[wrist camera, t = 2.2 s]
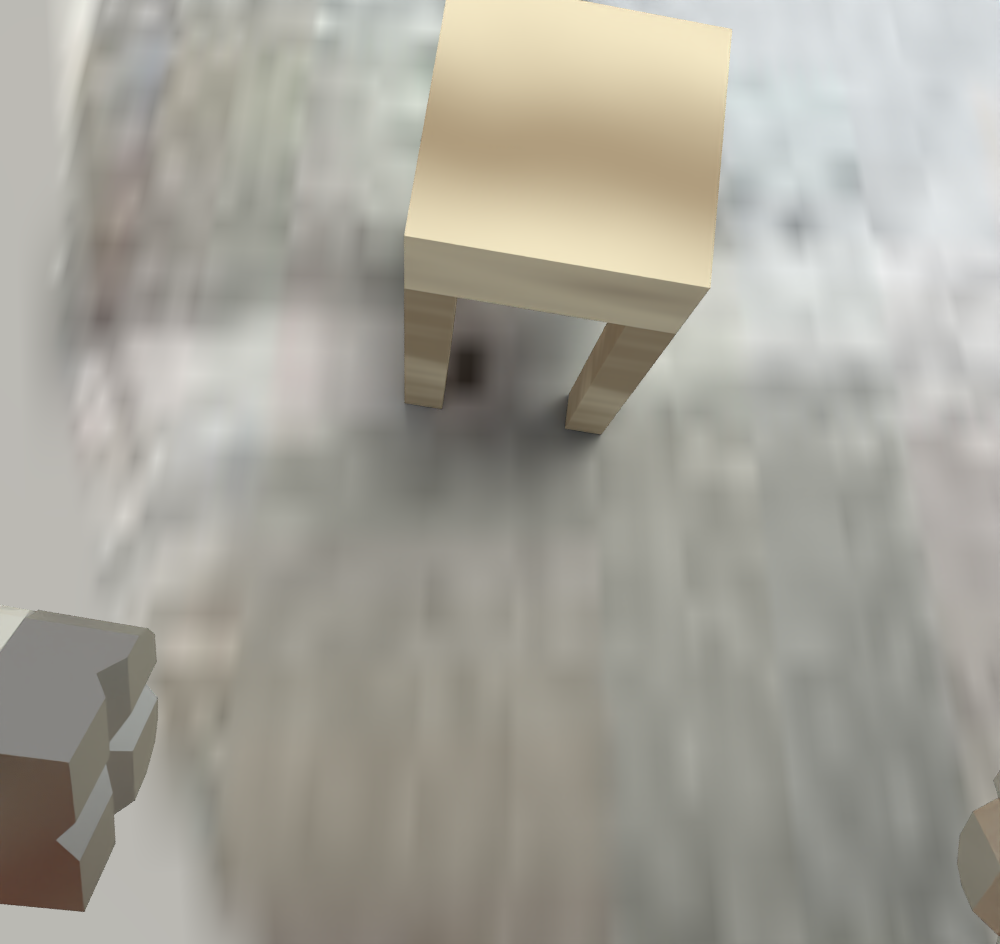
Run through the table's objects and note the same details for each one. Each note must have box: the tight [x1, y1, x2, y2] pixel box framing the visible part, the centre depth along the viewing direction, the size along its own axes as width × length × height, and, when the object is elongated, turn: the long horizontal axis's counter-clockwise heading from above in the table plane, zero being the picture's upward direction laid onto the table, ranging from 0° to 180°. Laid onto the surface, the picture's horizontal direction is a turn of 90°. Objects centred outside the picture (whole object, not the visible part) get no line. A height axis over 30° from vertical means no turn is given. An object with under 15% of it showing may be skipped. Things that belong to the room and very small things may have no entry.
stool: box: [404, 0, 732, 434], centre depth 25 cm, size 6×6×11 cm
